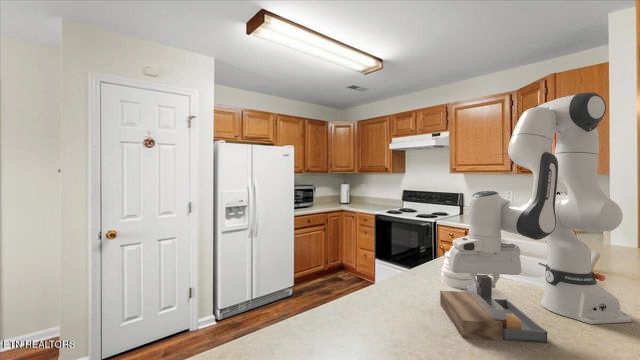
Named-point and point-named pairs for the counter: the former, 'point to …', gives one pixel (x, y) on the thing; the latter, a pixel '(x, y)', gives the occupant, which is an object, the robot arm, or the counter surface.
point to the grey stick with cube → (486, 297)
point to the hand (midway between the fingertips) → (484, 287)
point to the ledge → (470, 316)
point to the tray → (529, 327)
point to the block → (512, 322)
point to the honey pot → (454, 275)
